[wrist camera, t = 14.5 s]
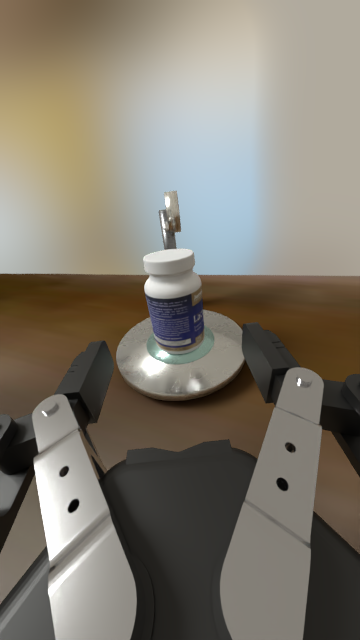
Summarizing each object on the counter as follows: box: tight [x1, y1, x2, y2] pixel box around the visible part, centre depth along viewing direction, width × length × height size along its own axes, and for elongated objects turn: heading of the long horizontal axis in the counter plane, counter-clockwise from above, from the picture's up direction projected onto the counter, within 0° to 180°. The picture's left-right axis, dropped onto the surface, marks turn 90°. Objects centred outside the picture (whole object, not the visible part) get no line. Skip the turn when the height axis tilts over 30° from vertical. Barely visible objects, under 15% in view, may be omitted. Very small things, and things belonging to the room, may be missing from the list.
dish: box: [116, 310, 245, 401], centre depth 24 cm, size 15×15×2 cm
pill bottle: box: [143, 249, 205, 354], centre depth 21 cm, size 6×6×10 cm
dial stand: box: [159, 191, 181, 250], centre depth 29 cm, size 6×10×17 cm, turn 3°
